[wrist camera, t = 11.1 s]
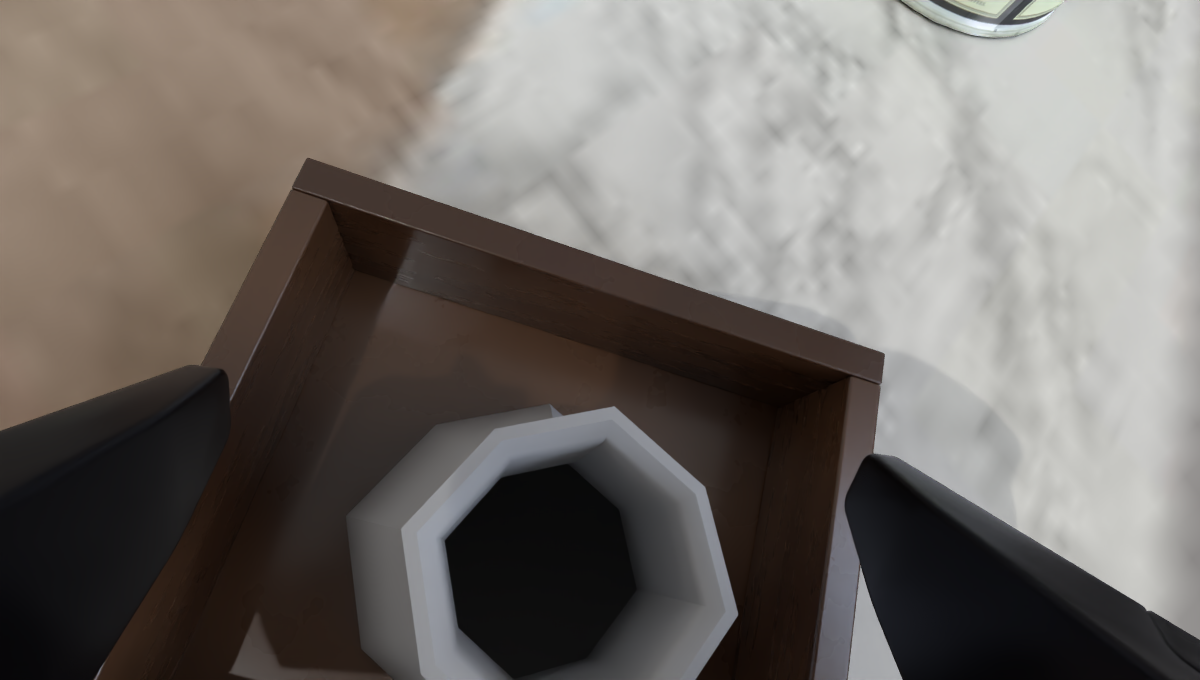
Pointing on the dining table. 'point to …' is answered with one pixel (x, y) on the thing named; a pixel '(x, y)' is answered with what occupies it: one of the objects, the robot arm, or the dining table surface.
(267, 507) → the crate
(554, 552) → the flask
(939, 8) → the coffee can
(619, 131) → the dining table surface
